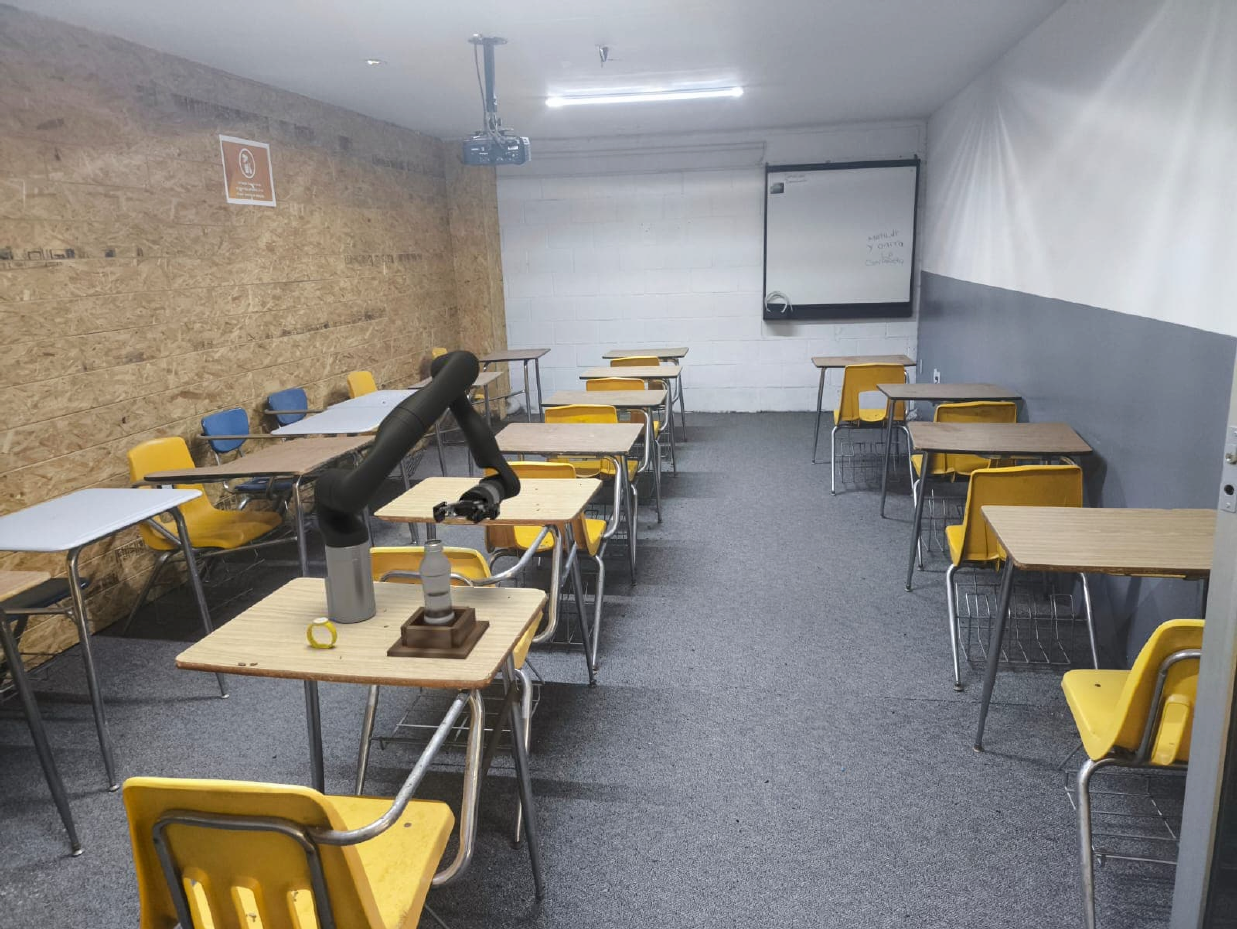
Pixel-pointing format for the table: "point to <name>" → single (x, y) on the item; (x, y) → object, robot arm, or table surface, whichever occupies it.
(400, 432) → the robot arm
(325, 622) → the watch
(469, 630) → the bottle rack
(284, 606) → the table surface
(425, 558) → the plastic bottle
